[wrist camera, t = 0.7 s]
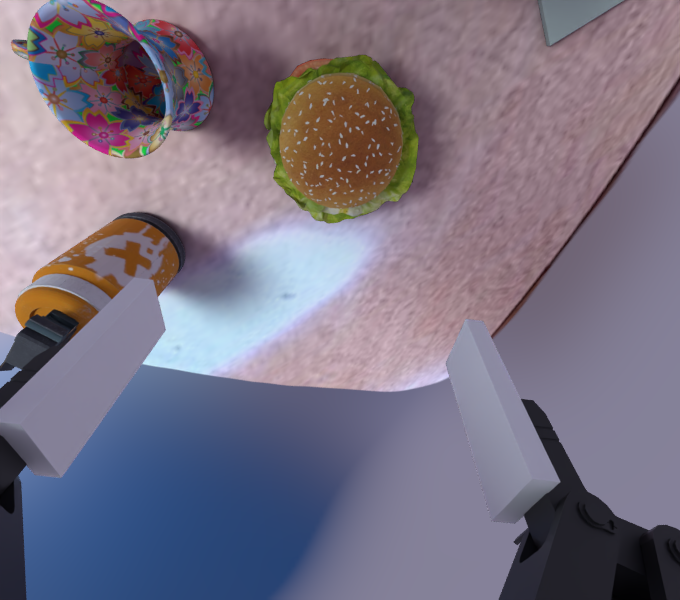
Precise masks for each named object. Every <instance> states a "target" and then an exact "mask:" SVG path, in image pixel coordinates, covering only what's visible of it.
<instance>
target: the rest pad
mask: <svg viewBox="0 0 680 600" xmlns="http://www.w3.org/2000/svg"><path fill="white" fill-rule="evenodd" d="M622 1H624V0H538V4H539V9H540V14H541V19H542V24H543V29H544V34H545V39H546V44H547V46H551V45H552V44H554V43H556V42H557V41H559V40H560V39H562V38H564V37H565V36H567V35H569V34H570V33H572V32H573V31H575V30H577V29H578V28H580V27H582V26H583V25H585V24H586V23H588V22H590V21H591V20H593V19H595V18H596V17H598V16H599V15H601V14H603V13H604V12H606V11H608V10H609V9H611V8H612V7H614V6H616V5H617V4H619V3H621V2H622Z"/></svg>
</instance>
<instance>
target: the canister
mask: <svg viewBox="0 0 680 600" xmlns="http://www.w3.org/2000/svg"><path fill="white" fill-rule="evenodd" d="M184 261H185V252H184V248H183V245H182V243H181V241H180V239H179V238H178V236H177V235H176V234H175V232H174V231H173V230H172V229H171V228H170V227H169V226H167V225H166V224H165V223H163V222H162V221H160V220H159V219H157V218H155V217H153V216H150V215H147V214H143V213H127V214H123V215H121V216H119V217H118V218H116V219H115V220H113V221H112V222H110V223H109V224H107V225H106V226H104V227H103V228H101V229H100V230H98V231H97V232H95V233H94V234H92V235H91V236H89V237H88V238H86V239H85V240H83V241H82V242H80V243H79V244H77V245H76V246H74V247H72V248H71V249H69V250H68V251H66V252H65V253H63V254H62V255H60V256H59V257H57V258H56V259H54V260H53V261H51V262H50V263H48V264H47V265H45V266H44V267H42V268H41V269H40V270H38V271H37V272H36V274H35V275H34V277H33V280H32V284H31V285H29V286H28V287H26V288H25V289H24V290H22V291H21V292H20V294H19V295H18V299H17V301H16V304H15V313H16V317H17V319H18V321H19V322H20V324H21V326H22V327H23V328H24V329H23V330H21V331H20V332H19V333H18V334H17V336H16V338H15V342H14V344H13V346H12V347H11V349H10V351H9V353H8V355H7V357H6V359H5V361H4V362H3V363H2V365H1V366H0V371H5V370H6V371H7V370H12V369H13V368H14V367H18V368H20V369H22V368H23V367H24V366H25V365H26V364H28V363H29V362H30V361H31V360H32V359H33V358H34V357H35V356H36V355H38V354H40V353H42V352H44V351H45V350H47V349H49V348H51V347H52V346H62V347H64V346H65V345H66V344H67V343H68V342H69V341H70V340H71V339H72V338H73V337H74V336H75V335H76V334H77V333H78V332H79V331H80V330H81V329H82V328H83V327H84V326H85V325H86V324H87V323H88V322H89V321H90V320H91V319H92V318H93V317H95V316H96V315H97V314H98V313H99V312H100V311H101V310H102V309H103V308H104V307H105V306H106V305H107V304H108V303H109V302H110V301H111V300H112V299H113V298H114V297H115V296H116V295H117V294H118V293H119V292H120V291H121V290H122V289H123V288H124V287H125V286H126V285H127V284H128V283H129V282H130V281H131V280H132V279H133V278H142V279H150V280H153V281H154V285H155V289H156V293H157V297H158V296H159V295H160V294H161V292H162V291H163V290H164V289H165V288H166V286H167V285H168V284H169V283H170V282H171V280H172V279H173V278H174V277H175V275H176V274H177V273H178V272H179V271H180V270H181V268H182V267H183V264H184Z"/></svg>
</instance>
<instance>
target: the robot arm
mask: <svg viewBox="0 0 680 600" xmlns="http://www.w3.org/2000/svg"><path fill="white" fill-rule="evenodd" d="M165 330H166V329H165V325H164V321H163V317H162V313H161V309H160V305H159V301H158V297H157V293H156V289H155V285H154V281H153V280H150V279H142V278H133V279H132V280H131V281H130V282H129V283H128V284H127V285H126V286H125V287H124V288H123V289H122V290H121V291H120V292H119V293H118V294H117V295H116V296H115V297H114V298H113V299H112V300H111V301H110V302H109V303H108V304H107V305H106V306H105V307H104V308H103V309H102V310H101V311H100V312H99V313H98V314H97V315H96V316H95V317H93V318H92V319H91V320H90V321H89V322H88V323H87V324H86V325H85V326H84V327H83V328H82V329H81V330H80V331H79V332H78V333H77V334H76V335H75V336H74V337H73V338H72V339H71V340H70V341H69V342H68V343H67V344H66V345H65V346H64V347H62V346H52V347H51V348H49V349H47V350H45V351H44V352H42V353H40V354H38V355H36V356H35V357H34V358H33V359H32V360H31V361H30V362H29V363H28V364H26V365H25V366H24V367H23V368H22V371H19V372H18V373H17V374H16V375H15V376H14V377H12V378H11V381H10V382H7V383H6V384H5V385H4V386H3V387H2V388H0V600H26V582H25V559H24V536H23V516H22V515H23V514H22V492H21V481H20V479H19V477H18V475H19V474H20V472H21V471H22V470H23V469H24V467H25V466H26V465H27V466H28V468H29V469H30V470H31V471H32V472H33V473H34V475H39V476H49V477H59V478H61V477H62V476H63V475H64V473H65V472H66V471H67V469H68V468H69V466H70V465H71V463H72V462H73V460H74V459H75V458H76V456H77V455H78V454H79V452H80V451H81V449H82V448H83V446H84V445H85V443H86V442H87V441H88V439H89V438H90V437H91V435H92V434H93V432H94V431H95V429H96V428H97V427H98V425H99V424H100V422H101V421H102V420H103V418H104V417H105V415H106V414H107V413H108V411H109V410H110V408H111V407H112V405H113V404H114V402H115V401H116V400H117V398H118V397H119V396H120V394H121V393H122V391H123V390H124V388H125V387H126V386H127V384H128V383H129V381H130V380H131V379H132V377H133V376H134V374H135V373H136V371H137V370H138V369H139V367H140V366H141V364H142V363H143V362H144V360H145V359H146V357H147V356H148V355H149V353H150V352H151V350H152V349H153V347H154V346H155V345H156V343H157V342H158V340H159V339H160V338H161V336H162V335H163V333H164V332H165ZM446 367H447V370H448V373H449V377H450V380H451V384H452V387H453V391H454V394H455V398H456V401H457V404H458V408H459V411H460V415H461V418H462V422H463V425H464V429H465V432H466V436H467V439H468V442H469V446H470V449H471V452H472V456H473V460H474V463H475V467H476V470H477V473H478V477H479V480H480V483H481V487H482V491H483V494H484V498H485V501H486V505H487V508H488V511H489V515H490V518H491V521H494V522H504V523H516V522H517V521H518V520H520V519H521V518H522V517H523V516H524V517H525V520H526V522H527V525H528V528H527V529H526V530H525V531H524V532H523V533H522V534H520V535H519V536H518V537H517V538H516V540H515V541H514V543H515V544H517V545H518V544H519V543H520V542H521V543H520V545H519V548H518V551H517V553H516V556H515V559H514V561H513V564H512V567H511V569H510V571H509V574H508V577H507V579H506V582H505V584H504V587H503V590H502V592H501V595H500V597H499V600H680V530H678V529H676V528H673V527H670V526H668V525H658V526H656V527H654V528H653V529H651V530H647V529H644V528H642V527H640V526H637V525H635V524H633V523H630V522H628V521H626V520H623V519H621V518H618V517H617V516H615V515H614V514H613V512H612V511H611V510H610V509H609V507H608V506H607V505H606V504H605V503H604V502H602V501H601V500H600V499H599V498H598V497H596V496H594V495H592V494H591V493H589V492H587V490H586V489H585V487H584V486H583V484H582V482H581V480H580V478H579V476H578V474H577V473H576V471H575V469H574V467H573V465H572V463H571V461H570V459H569V457H568V456H567V454H566V452H565V450H564V448H563V446H562V444H561V443H560V442H559V438H558V437H557V435H556V433H555V431H553V427H552V425H551V423H550V421H549V420H548V418H547V416H546V414H545V413H544V412H543V411H542V410H541V409H540V407H539V406H538V405H537V404H536V403H535V402H534V401H533V400H525V399H520V397H519V395H518V393H517V390H516V388H515V386H514V384H513V382H512V380H511V378H510V376H509V374H508V372H507V369H506V367H505V365H504V364H503V361H502V359H501V357H500V355H499V353H498V351H497V349H496V347H495V344H494V342H493V340H492V338H491V336H490V334H489V332H488V330H487V328H486V326H485V324H484V322H483V321H478V320H470V319H465V322H464V324H463V326H462V328H461V331H460V333H459V335H458V337H457V339H456V342H455V344H454V346H453V348H452V350H451V353H450V355H449V357H448V359H447V361H446Z"/></svg>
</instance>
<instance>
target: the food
mask: <svg viewBox="0 0 680 600" xmlns="http://www.w3.org/2000/svg"><path fill="white" fill-rule="evenodd" d="M413 103H414V95H413V92H411V91H410V90H408V89H407V88H400V87H399V88H398V87H397V86H396V85H395V84H394V82H393V81H392V80H391V79H390V78H389V76H388V75H387V74H386V73H385V71H384V70H383V69H382V67H381V66H380V65H379V64H378V63H377V62H376V61H372V58H370V57H368V56H366V55H358V56H352V57H343V58H335V59H316V60H310V61H308V62H305V63H303V64H301V65H299V66H297V67H296V69H295V70H294V71H293V73H292V74H291V75H290V77H288V78H286V79H285V80H281V82H276V84H275V87H274V92H273V102H272V103H271V105H270V107H269V109H268V110H267V112H266V114H265V118H264V125H265V127H266V129H268V130H270V129H271V130H270V132H269V133H268V135H267V137H266V139H267V142H268V144H269V147H270V149H271V155H272V157H273V158H274V162H275V164H276V168H275V171H274V177H273V179H274V180H275V181H276V182H277V183H278V185H279V186H281V187H282V188H283V189H284V190H285V192H286V194H287V195H289V196H290V197H291V198H292V199H294V200H295V202H296V203H297V205H298V206H299V208H300V209H302V210H305V211H309V212H310V214H311V215H312V217H313V218H314V219H315V220H317V221H325V222H326V223H337V222H340V221H342V220H344V219H353V218H356V217H358V216H361V215H365V214H368V213H370V212H373V211H375V210H377V209H379V207H380V206H381V205H382V204H383V203H384V202H386V201H398V200H399V199H400V198H401V196H402V194H404V193H406V192H407V191H408V189H409V187H410V185H411V183H412V181H413V176H414V173H415V169H416V160H417V151H418V140H419V137H418V134H416V132H415V127H414V115H413V114H412V111H411V107H412V105H413Z"/></svg>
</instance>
